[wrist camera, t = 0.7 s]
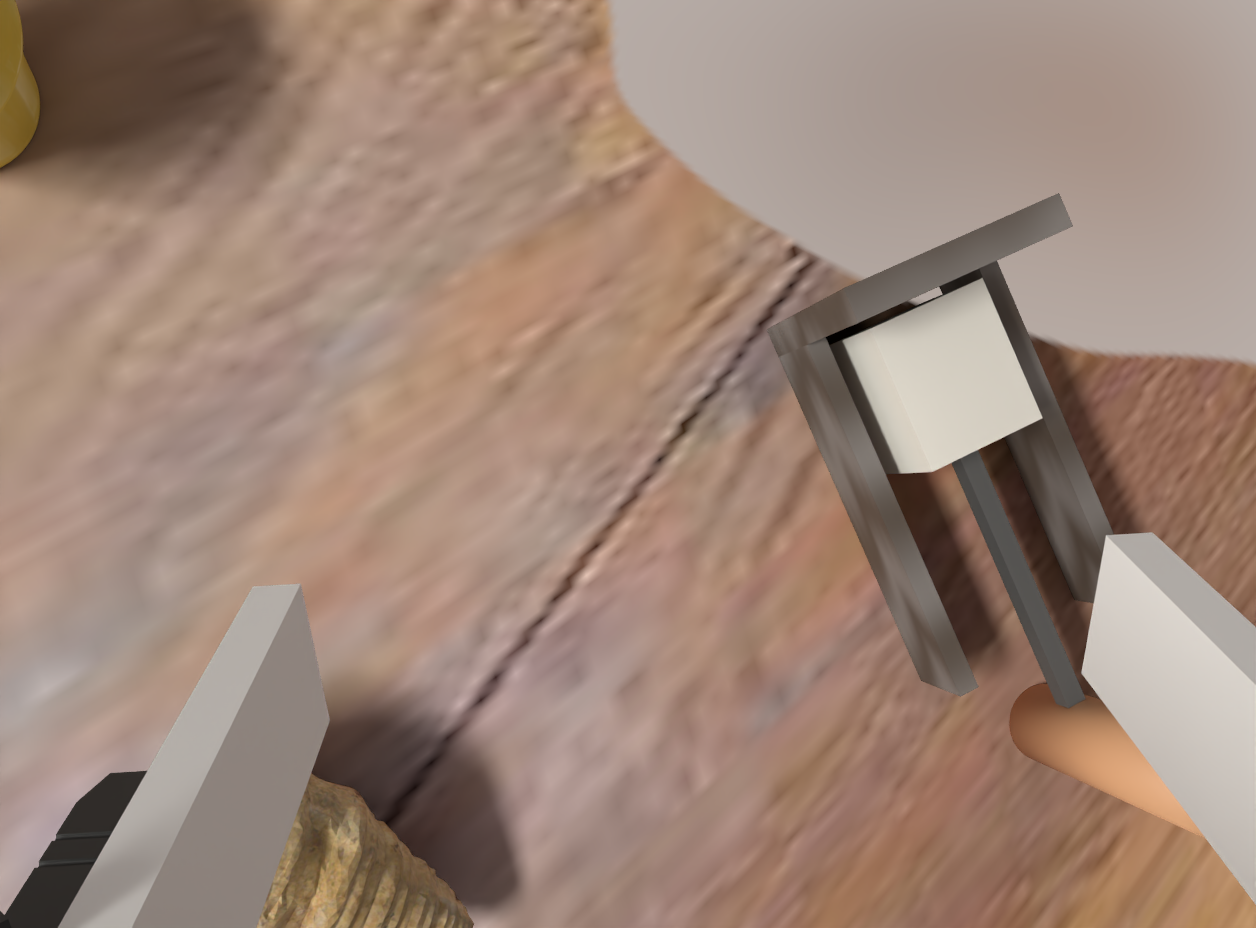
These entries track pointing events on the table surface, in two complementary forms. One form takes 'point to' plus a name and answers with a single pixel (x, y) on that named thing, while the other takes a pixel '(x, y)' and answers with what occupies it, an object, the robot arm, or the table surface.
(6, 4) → the plant pot
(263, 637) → the robot arm
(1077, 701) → the push rod with block
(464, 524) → the table surface
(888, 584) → the shelf lane
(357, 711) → the table surface
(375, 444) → the table surface
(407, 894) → the seashell
